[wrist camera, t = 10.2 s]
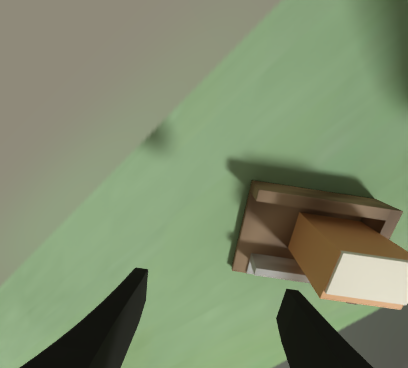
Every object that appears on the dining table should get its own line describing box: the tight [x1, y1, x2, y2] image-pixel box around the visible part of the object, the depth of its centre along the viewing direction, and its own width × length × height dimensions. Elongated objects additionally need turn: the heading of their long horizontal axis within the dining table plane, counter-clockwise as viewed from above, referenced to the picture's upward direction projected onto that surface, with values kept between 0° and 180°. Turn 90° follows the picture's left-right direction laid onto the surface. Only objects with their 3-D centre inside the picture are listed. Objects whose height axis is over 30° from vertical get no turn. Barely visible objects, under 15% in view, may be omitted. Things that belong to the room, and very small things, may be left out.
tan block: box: [288, 212, 408, 310], centre depth 16 cm, size 6×4×6 cm, turn 81°
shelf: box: [232, 180, 403, 304], centre depth 19 cm, size 12×10×3 cm
